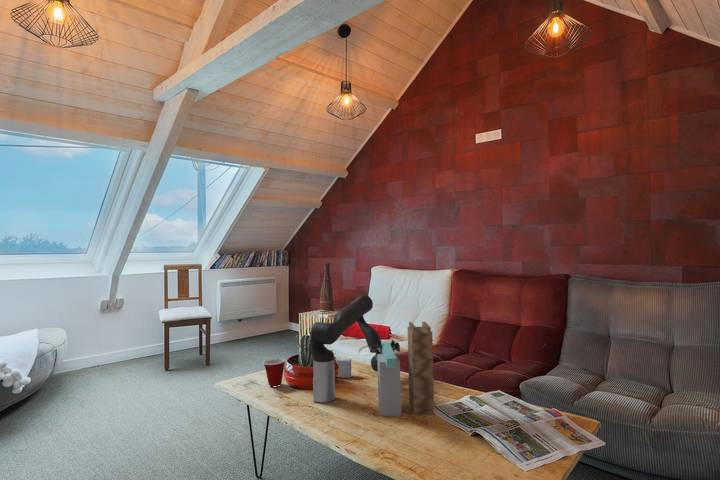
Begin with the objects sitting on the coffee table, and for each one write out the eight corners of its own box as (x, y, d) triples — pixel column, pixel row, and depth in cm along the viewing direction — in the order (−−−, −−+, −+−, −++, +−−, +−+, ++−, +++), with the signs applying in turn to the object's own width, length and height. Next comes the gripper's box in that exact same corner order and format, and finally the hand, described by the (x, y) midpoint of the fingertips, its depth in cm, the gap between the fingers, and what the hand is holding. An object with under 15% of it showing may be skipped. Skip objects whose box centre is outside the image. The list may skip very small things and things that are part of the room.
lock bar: (387, 368, 155) (386, 358, 155) (381, 350, 181) (381, 342, 181) (396, 367, 156) (396, 358, 156) (389, 349, 181) (389, 341, 182)
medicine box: (351, 375, 214) (351, 358, 214) (350, 378, 210) (350, 360, 210) (336, 375, 215) (336, 358, 215) (335, 377, 211) (334, 360, 211)
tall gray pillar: (380, 416, 163) (379, 362, 163) (378, 404, 175) (377, 354, 175) (401, 415, 163) (399, 361, 163) (397, 403, 175) (396, 353, 175)
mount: (413, 415, 163) (411, 328, 164) (409, 403, 175) (407, 322, 176) (434, 414, 164) (432, 327, 164) (428, 402, 176) (426, 321, 176)
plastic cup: (275, 380, 209) (274, 356, 209) (290, 384, 203) (290, 359, 203) (258, 386, 200) (257, 361, 200) (274, 390, 194) (273, 364, 194)
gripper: (367, 345, 192) (369, 334, 177) (398, 344, 193) (402, 333, 178) (368, 362, 188) (369, 351, 174) (400, 361, 189) (404, 350, 174)
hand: (386, 342), depth 176 cm, fingers open, 4 cm apart
